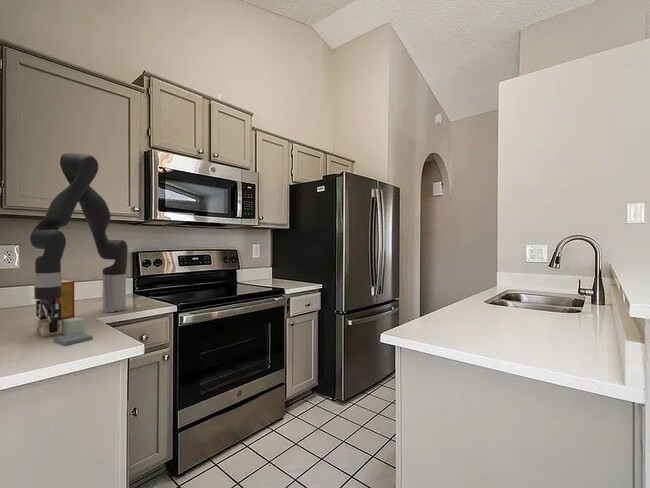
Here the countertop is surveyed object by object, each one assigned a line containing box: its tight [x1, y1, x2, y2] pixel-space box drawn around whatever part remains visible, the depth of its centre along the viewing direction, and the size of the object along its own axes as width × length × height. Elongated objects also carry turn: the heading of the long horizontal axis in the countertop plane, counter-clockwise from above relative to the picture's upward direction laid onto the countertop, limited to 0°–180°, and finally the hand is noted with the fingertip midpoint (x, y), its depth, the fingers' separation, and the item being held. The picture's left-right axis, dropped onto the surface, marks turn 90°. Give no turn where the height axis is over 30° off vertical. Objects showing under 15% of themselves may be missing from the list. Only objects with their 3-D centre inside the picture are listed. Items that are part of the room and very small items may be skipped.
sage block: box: [60, 316, 85, 336], centre depth 120 cm, size 5×5×5 cm
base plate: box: [53, 332, 94, 347], centre depth 111 cm, size 8×8×1 cm
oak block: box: [36, 319, 61, 338], centre depth 118 cm, size 5×5×5 cm
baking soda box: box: [54, 279, 75, 321], centre depth 140 cm, size 10×6×16 cm
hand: (48, 330), depth 118 cm, fingers open, 7 cm apart
